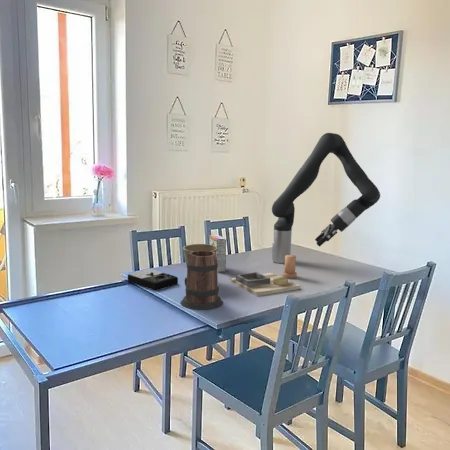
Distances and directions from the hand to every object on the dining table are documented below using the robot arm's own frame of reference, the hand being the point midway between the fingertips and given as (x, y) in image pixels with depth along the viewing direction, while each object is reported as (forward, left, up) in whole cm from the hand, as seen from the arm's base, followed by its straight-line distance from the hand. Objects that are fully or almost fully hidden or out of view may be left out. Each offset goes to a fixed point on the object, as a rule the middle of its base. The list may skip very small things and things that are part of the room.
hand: (317, 243), depth 216 cm
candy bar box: (-33, -35, -17) cm, 51 cm away
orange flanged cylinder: (-7, -10, -17) cm, 21 cm away
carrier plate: (-1, -28, -17) cm, 32 cm away
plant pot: (-17, -52, -17) cm, 57 cm away
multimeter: (-25, -71, -17) cm, 77 cm away
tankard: (+4, -62, -17) cm, 65 cm away
